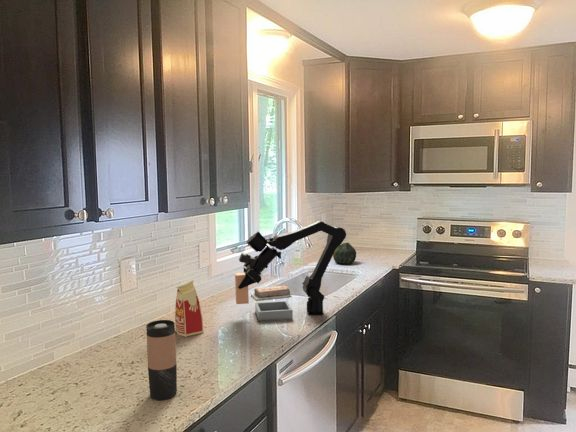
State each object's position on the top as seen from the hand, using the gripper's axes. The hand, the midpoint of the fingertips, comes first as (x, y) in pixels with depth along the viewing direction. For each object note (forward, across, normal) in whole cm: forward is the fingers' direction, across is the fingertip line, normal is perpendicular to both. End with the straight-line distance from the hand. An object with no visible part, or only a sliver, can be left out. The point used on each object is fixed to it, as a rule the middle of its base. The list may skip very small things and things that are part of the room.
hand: (238, 286), depth 195 cm
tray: (-1, -1, +20) cm, 20 cm away
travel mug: (+27, +63, -8) cm, 70 cm away
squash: (-44, -101, +63) cm, 127 cm away
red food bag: (+24, +12, -5) cm, 27 cm away
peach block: (+4, 0, +6) cm, 7 cm away
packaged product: (-2, -32, +22) cm, 39 cm away
